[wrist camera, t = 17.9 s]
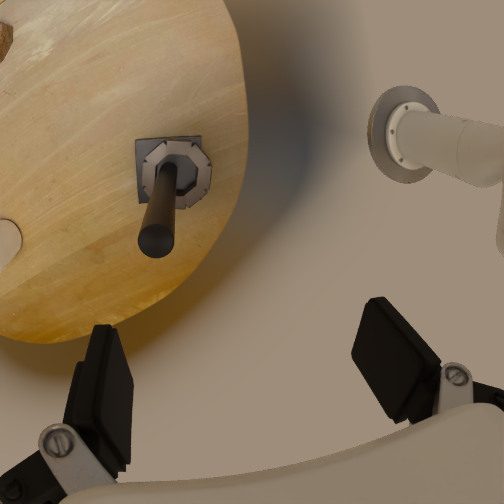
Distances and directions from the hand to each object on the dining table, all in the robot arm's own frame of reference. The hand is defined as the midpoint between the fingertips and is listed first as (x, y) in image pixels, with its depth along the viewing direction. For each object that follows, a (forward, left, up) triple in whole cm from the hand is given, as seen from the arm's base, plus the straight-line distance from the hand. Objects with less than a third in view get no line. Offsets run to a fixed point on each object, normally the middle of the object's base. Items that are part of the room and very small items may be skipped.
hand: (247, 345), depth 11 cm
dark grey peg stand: (+4, 0, -36) cm, 36 cm away
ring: (+3, +1, -34) cm, 34 cm away
